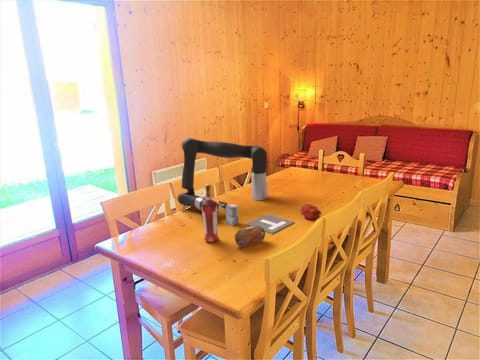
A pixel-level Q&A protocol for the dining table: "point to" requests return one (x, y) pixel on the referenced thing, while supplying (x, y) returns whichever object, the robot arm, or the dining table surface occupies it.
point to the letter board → (270, 223)
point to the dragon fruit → (310, 211)
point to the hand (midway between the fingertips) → (223, 210)
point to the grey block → (232, 214)
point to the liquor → (209, 216)
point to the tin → (250, 236)
